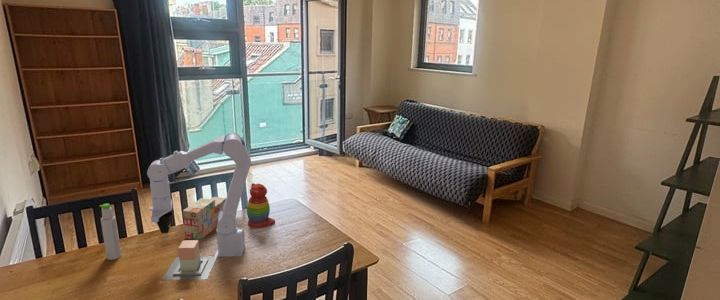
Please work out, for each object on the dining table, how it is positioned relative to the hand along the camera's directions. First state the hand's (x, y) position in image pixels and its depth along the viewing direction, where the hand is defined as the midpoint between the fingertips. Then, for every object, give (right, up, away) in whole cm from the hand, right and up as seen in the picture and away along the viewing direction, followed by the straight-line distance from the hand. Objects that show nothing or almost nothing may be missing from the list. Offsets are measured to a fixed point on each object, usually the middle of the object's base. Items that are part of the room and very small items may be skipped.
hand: (165, 232), depth 140 cm
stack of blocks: (+5, -4, +26) cm, 27 cm away
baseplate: (+10, -12, -3) cm, 16 cm away
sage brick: (+10, -11, -3) cm, 16 cm away
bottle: (-19, -9, +3) cm, 22 cm away
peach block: (+10, -7, -4) cm, 13 cm away
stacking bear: (+25, -3, +32) cm, 40 cm away
